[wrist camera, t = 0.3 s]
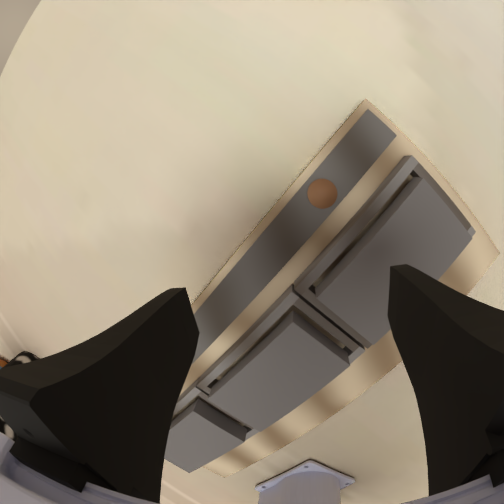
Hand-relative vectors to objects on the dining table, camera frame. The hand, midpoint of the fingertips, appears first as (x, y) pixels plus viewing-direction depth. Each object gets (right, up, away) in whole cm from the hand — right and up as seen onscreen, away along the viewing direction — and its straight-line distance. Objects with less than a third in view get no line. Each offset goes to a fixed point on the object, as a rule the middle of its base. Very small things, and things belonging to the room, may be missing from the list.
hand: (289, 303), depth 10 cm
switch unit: (+1, -6, +12) cm, 14 cm away
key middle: (0, -7, +10) cm, 12 cm away
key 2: (-6, -15, +13) cm, 21 cm away
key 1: (+7, +1, +7) cm, 10 cm away
